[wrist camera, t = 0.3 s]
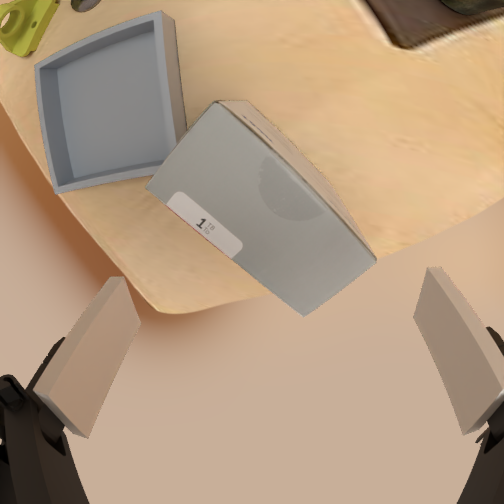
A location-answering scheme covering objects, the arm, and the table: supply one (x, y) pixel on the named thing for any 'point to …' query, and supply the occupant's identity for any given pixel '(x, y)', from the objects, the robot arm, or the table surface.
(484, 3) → the mug
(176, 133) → the bin
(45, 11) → the bracket
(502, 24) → the table surface
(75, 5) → the ball stud
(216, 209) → the hard drive box
